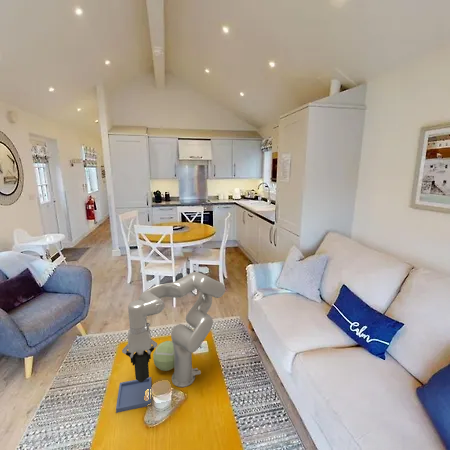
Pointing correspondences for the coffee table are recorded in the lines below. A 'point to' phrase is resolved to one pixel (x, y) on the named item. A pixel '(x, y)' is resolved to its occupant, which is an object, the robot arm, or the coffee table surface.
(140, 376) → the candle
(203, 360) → the coffee table surface
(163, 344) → the decorative sphere
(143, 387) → the slate blue tray
